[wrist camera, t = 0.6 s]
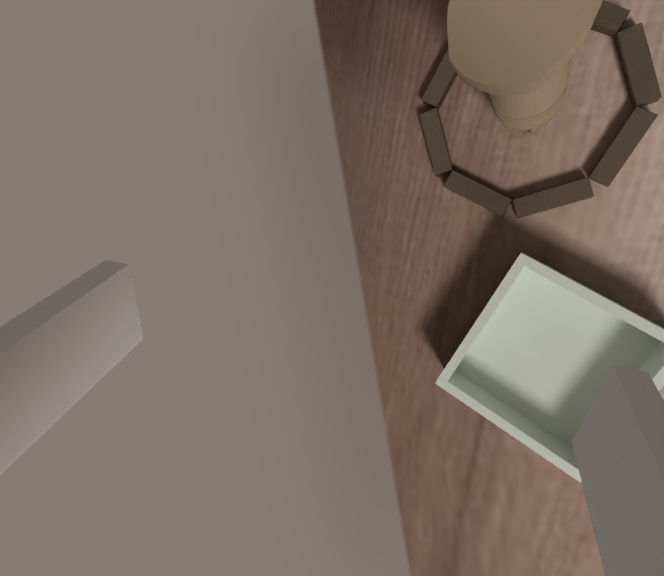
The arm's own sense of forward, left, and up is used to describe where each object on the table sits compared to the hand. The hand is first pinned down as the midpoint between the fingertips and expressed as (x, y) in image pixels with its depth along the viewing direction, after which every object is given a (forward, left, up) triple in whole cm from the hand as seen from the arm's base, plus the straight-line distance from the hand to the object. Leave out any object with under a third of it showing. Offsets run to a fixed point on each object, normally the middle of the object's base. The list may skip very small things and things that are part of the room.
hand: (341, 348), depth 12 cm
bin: (+1, +7, -21) cm, 22 cm away
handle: (-12, -2, -21) cm, 25 cm away
